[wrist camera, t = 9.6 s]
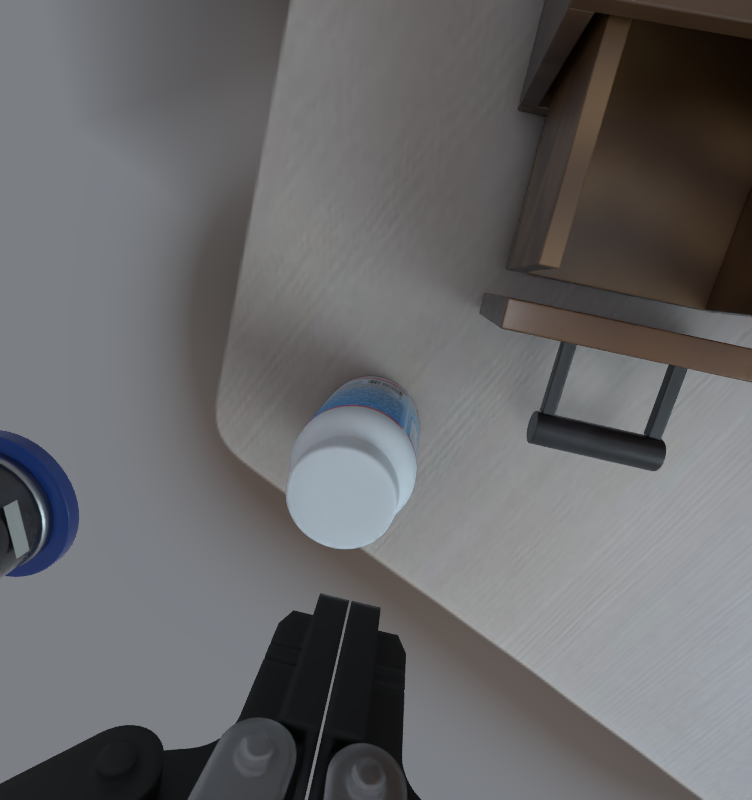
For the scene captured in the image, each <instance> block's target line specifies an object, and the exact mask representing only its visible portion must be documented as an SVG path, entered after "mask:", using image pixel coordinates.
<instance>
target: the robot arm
mask: <svg viewBox="0 0 752 800" xmlns="http://www.w3.org/2000/svg"><path fill="white" fill-rule="evenodd" d="M52 529H53V513H52V508H51V504H50V501H49V498H48V496H47V494H46V492H45V490H44V488H43V487H42V485H41V484H40V482H39V481H38V480H37V478H36V477H35V476H34V475H33V474H32V473H31V472H30V471H29V470H28V469H27V468H26V467H24V466H23V465H22V464H20V463H19V462H18V461H16V460H14V459H12V458H10V457H8V456H6V455H4V454H1V453H0V579H1V578H2V577H3V576H5V575H6V574H8V573H9V572H11V571H12V570H14V569H15V568H17V567H19V566H21V565H23V564H25V563H26V562H28V561H29V560H31V559H32V558H34V557H35V556H36V555H38V554H39V553H40V552H41V551H42V550H43V549H44V548H45V546H46V545H47V543H48V541H49V539H50V537H51V534H52ZM348 603H349V600H346V599H342V598H338V597H333V596H329V595H325V594H320V596H319V599H318V602H317V605H316V608H315V611H314V614H313V615H310V614H306V613H302V612H298V611H292V612H291V613H290V614H289V615H288V616H287V617H285V618H284V619H283V620H282V621H281V622H280V623H279V624H278V626H277V629H276V631H275V633H274V636H273V638H272V641H271V644H270V645H269V648H268V650H267V653H266V655H265V659H264V660H263V662H262V664H261V667H260V669H259V672H258V674H257V676H256V679H255V681H254V684H253V686H252V688H251V691H250V693H249V696H248V698H247V700H246V703H245V705H244V707H243V710H242V712H241V715H240V717H239V719H238V720H237V722H236V723H235V724H234V725H233V726H232V727H230V728H229V729H228V730H227V731H226V732H225V733H224V734H223V735H222V737H221V738H219V739H218V740H216V741H214V742H212V743H210V744H208V745H204V746H201V747H197V748H190V749H178V750H165V751H164V750H163V745H162V743H161V741H160V739H159V738H158V736H157V735H156V734H155V733H153V732H152V731H151V730H149V729H147V728H144V727H141V726H135V725H125V726H118V727H114V728H111V729H108V730H106V731H103V732H101V733H99V734H97V735H96V736H93V737H91V738H89V739H87V740H85V741H83V742H81V743H79V744H78V745H76V746H74V747H72V748H70V749H68V750H66V751H64V752H62V753H60V754H58V755H56V756H54V757H52V758H50V759H48V760H46V761H44V762H42V763H40V764H38V765H36V766H34V767H32V768H30V769H28V770H26V771H25V772H22V773H20V774H19V775H17V776H15V777H13V778H11V779H9V780H7V781H5V782H3V783H1V784H0V800H305V795H306V791H307V786H308V782H309V777H310V773H311V769H312V764H313V760H314V755H315V751H316V746H317V742H318V737H319V733H320V729H321V724H322V720H323V715H324V711H325V706H326V702H327V698H328V693H329V689H330V684H331V680H332V675H333V671H334V666H335V662H336V657H337V653H338V648H339V644H340V639H341V635H342V630H343V626H344V621H345V617H346V612H347V607H348ZM379 617H380V607H376V606H372V605H367V604H363V603H359V602H355V601H352V602H351V607H350V611H349V616H348V620H347V624H346V629H345V633H344V638H343V642H342V647H341V652H340V656H339V660H338V665H337V669H336V674H335V679H334V683H333V688H332V692H331V697H330V702H329V706H328V710H327V715H326V720H325V724H324V729H323V733H322V738H321V743H320V747H319V752H318V757H317V761H316V765H315V770H314V775H313V779H312V784H311V788H310V793H309V798H308V800H421V799H420V798H419V797H418V795H416V793H415V792H414V790H413V789H412V787H411V786H410V784H409V782H408V780H407V778H406V775H405V772H404V769H403V764H402V741H403V715H404V689H405V664H406V653H405V651H404V648H403V646H402V644H401V642H400V639H399V637H398V635H394V634H390V633H386V632H382V631H378V625H379Z"/></svg>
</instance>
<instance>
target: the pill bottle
mask: <svg viewBox="0 0 752 800" xmlns="http://www.w3.org/2000/svg"><path fill="white" fill-rule="evenodd" d="M418 445H419V416H418V412H417V409H416V406H415V404H414V402H413V400H412V399H411V397H410V396H409V395H408V393H407V392H406V391H405V390H404V389H402V388H401V387H400V386H399V385H397V384H396V383H394V382H392V381H390V380H387V379H384V378H381V377H374V376H366V377H360V378H356V379H353V380H351V381H349V382H347V383H345V384H344V385H342V386H341V387H340V388H338V389H337V390H336V391H335V392H334V393H333V394H332V395H331V397H330V398H329V399H328V400H327V401H326V402H325V403H324V405H323V406H322V407H321V408H320V410H319V411H318V412H317V413H316V414H315V415H314V417H313V418H312V419H311V420H310V421H309V423H308V424H307V425H306V426H305V427H304V429H303V430H302V431H301V433H300V434H299V436H298V437H297V439H296V441H295V444H294V446H293V449H292V453H291V457H290V476H289V478H288V481H287V486H286V501H287V506H288V509H289V512H290V514H291V516H292V518H293V520H294V522H295V523H296V525H297V526H298V527H299V528H300V529H301V531H302V532H303V533H305V534H306V535H307V536H308V537H310V538H311V539H313V540H314V541H316V542H318V543H320V544H322V545H325V546H328V547H332V548H337V549H352V548H358V547H362V546H365V545H367V544H369V543H371V542H373V541H375V540H376V539H378V538H379V537H380V536H381V535H382V534H384V532H385V531H386V530H387V529H388V527H389V526H390V524H391V522H392V521H393V518H394V516H395V515H396V514H397V513H398V512H399V511H400V510H401V509H402V507H403V506H404V505H405V504H406V502H407V501H408V499H409V497H410V495H411V493H412V491H413V488H414V484H415V480H416V474H417V457H418Z"/></svg>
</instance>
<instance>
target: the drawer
mask: <svg viewBox="0 0 752 800" xmlns="http://www.w3.org/2000/svg"><path fill="white" fill-rule="evenodd" d="M507 270H510V271H515V272H519V273H524V274H529V275H534V276H539V277H543V278H548V279H553V280H558V281H563V282H567V283H572V284H577V285H582V286H587V287H591V288H596V289H601V290H606V291H611V292H616V293H620V294H625V295H630V296H635V297H640V298H644V299H649V300H654V301H659V302H664V303H668V304H673V305H678V306H683V307H688V308H692V309H697V310H702V311H707V312H712V313H722V314H731V315H740V316H749V317H752V39H748V38H742V37H736V36H730V35H725V34H719V33H713V32H707V31H702V30H696V29H690V28H684V27H679V26H673V25H667V24H661V23H656V22H650V21H644V20H638V19H633V18H627V17H621V16H615V15H610V14H604V13H598V12H595V13H594V14H593V16H592V18H591V19H590V21H589V23H588V24H587V26H586V28H585V29H584V31H583V33H582V34H581V36H580V38H579V39H578V41H577V43H576V44H575V46H574V48H573V49H572V51H571V53H570V54H569V56H568V58H567V59H566V61H565V63H564V64H563V66H562V68H561V69H560V71H559V73H558V76H557V80H556V84H555V88H554V92H553V95H552V99H551V103H550V107H549V111H548V114H547V118H546V122H545V126H544V129H543V133H542V137H541V141H540V145H539V148H538V152H537V156H536V160H535V163H534V167H533V171H532V175H531V179H530V182H529V186H528V190H527V194H526V197H525V201H524V205H523V209H522V213H521V216H520V220H519V224H518V228H517V231H516V235H515V239H514V243H513V247H512V250H511V254H510V258H509V262H508V266H507ZM479 313H480V314H481V315H482V316H484V317H485V318H487V319H488V320H490V321H491V322H493V323H494V324H496V325H497V326H499V327H500V328H502V329H506V330H511V331H516V332H520V333H525V334H529V335H534V336H539V337H543V338H548V339H553V340H557V341H561V343H560V346H559V349H558V353H557V356H556V359H555V362H554V366H553V369H552V372H551V376H550V379H549V382H548V385H547V389H546V392H545V395H544V399H543V402H542V405H541V408H540V411H541V412H540V411H535V412H534V413H533V414H532V416H531V418H530V421H529V424H528V429H527V441H528V443H531V444H536V445H540V446H544V447H549V448H553V449H558V450H562V451H566V452H571V453H575V454H579V455H584V456H588V457H593V458H597V459H601V460H606V461H610V462H614V463H619V464H623V465H628V466H632V467H636V468H641V469H645V470H649V471H656V470H658V469H659V468H660V467H661V466H662V464H663V462H664V459H665V455H666V446H665V443H664V441H663V440H662V439H661V438H662V435H663V433H664V430H665V427H666V425H667V422H668V419H669V417H670V414H671V411H672V409H673V406H674V403H675V401H676V398H677V396H678V393H679V390H680V388H681V385H682V382H683V380H684V377H685V374H686V372H687V369H692V370H697V371H701V372H706V373H711V374H715V375H720V376H724V377H729V378H734V379H738V380H743V381H748V382H752V349H751V348H746V347H741V346H736V345H732V344H727V343H722V342H718V341H713V340H708V339H703V338H699V337H694V336H689V335H684V334H680V333H675V332H670V331H665V330H661V329H656V328H651V327H647V326H642V325H637V324H632V323H628V322H623V321H618V320H613V319H609V318H604V317H599V316H594V315H590V314H585V313H580V312H576V311H571V310H566V309H561V308H557V307H552V306H547V305H542V304H538V303H533V302H528V301H523V300H519V299H514V298H509V297H504V296H499V295H494V294H489V293H484V297H483V300H482V304H481V308H480V312H479ZM577 345H581V346H585V347H590V348H594V349H599V350H604V351H608V352H613V353H618V354H622V355H627V356H632V357H636V358H641V359H646V360H650V361H655V362H659V363H664V364H669V366H668V368H667V371H666V374H665V377H664V379H663V382H662V385H661V388H660V390H659V393H658V396H657V399H656V401H655V404H654V407H653V409H652V412H651V415H650V418H649V420H648V423H647V426H646V429H645V431H644V434H645V435H642V434H638V433H633V432H629V431H624V430H620V429H615V428H611V427H606V426H602V425H597V424H593V423H589V422H584V421H580V420H575V419H571V418H566V417H562V416H557V415H555V413H556V410H557V406H558V403H559V400H560V397H561V394H562V390H563V387H564V384H565V381H566V378H567V374H568V371H569V368H570V365H571V362H572V358H573V355H574V352H575V349H576V346H577Z"/></svg>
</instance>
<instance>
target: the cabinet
mask: <svg viewBox="0 0 752 800" xmlns="http://www.w3.org/2000/svg"><path fill="white" fill-rule="evenodd" d="M595 12H598V13H604V14H610V15H615V16H621V17H627V18H633V19H638V20H644V21H650V22H656V23H661V24H667V25H673V26H679V27H684V28H690V29H696V30H702V31H707V32H713V33H719V34H725V35H730V36H736V37H742V38H748V39H752V0H545V2H544V6H543V10H542V14H541V18H540V22H539V26H538V30H537V34H536V38H535V42H534V46H533V50H532V54H531V58H530V62H529V66H528V70H527V74H526V78H525V82H524V86H523V90H522V94H521V98H520V102H519V106H518V110H519V111H525V112H530V113H535V114H541V115H546V116H547V114H548V111H549V107H550V103H551V99H552V95H553V92H554V88H555V84H556V80H557V76H558V73H559V71H560V69H561V68H562V66H563V64H564V63H565V61H566V59H567V58H568V56H569V54H570V53H571V51H572V49H573V48H574V46H575V44H576V43H577V41H578V39H579V38H580V36H581V34H582V33H583V31H584V29H585V28H586V26H587V24H588V23H589V21H590V19H591V18H592V16H593V14H594V13H595Z"/></svg>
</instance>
